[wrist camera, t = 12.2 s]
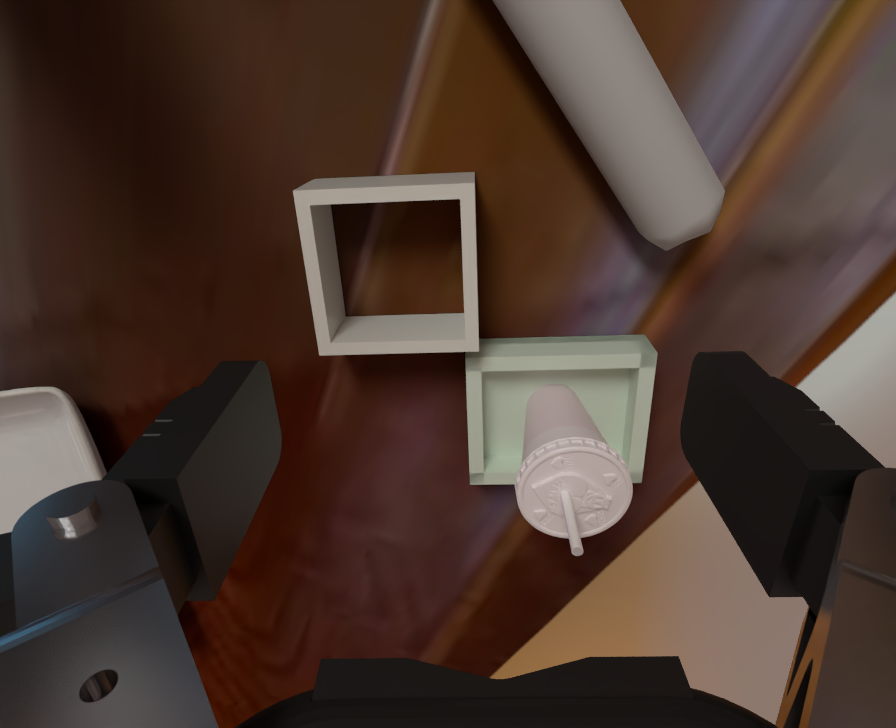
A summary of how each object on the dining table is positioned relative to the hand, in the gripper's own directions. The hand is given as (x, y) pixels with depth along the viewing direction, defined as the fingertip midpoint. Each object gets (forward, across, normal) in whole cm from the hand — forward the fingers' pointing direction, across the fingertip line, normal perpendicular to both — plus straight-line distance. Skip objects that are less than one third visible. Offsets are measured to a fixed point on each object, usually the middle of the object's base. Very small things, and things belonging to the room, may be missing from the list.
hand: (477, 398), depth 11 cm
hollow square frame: (+26, +4, +5) cm, 27 cm away
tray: (+26, -6, +16) cm, 31 cm away
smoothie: (+25, -6, +15) cm, 30 cm away
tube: (+27, -6, -7) cm, 28 cm away
